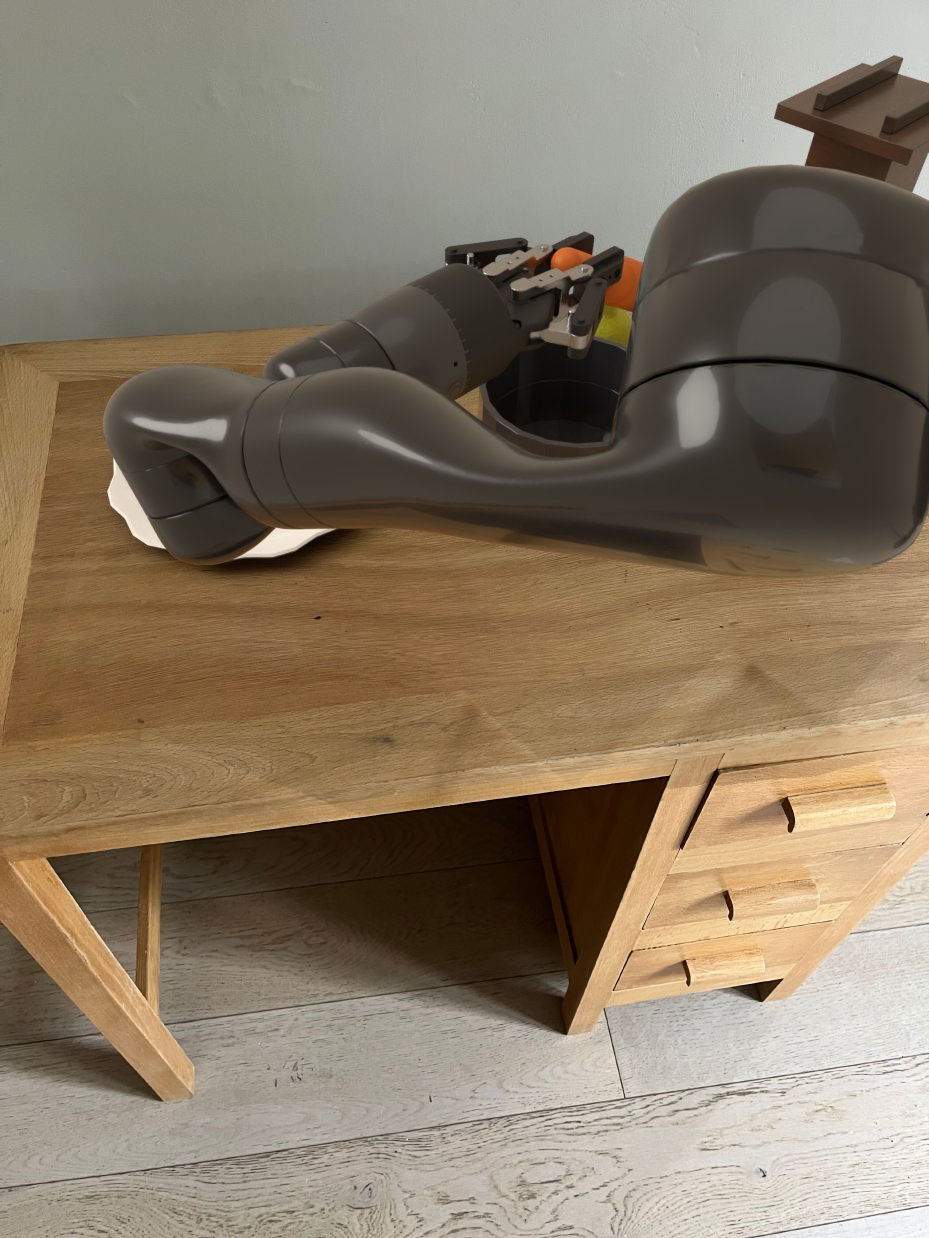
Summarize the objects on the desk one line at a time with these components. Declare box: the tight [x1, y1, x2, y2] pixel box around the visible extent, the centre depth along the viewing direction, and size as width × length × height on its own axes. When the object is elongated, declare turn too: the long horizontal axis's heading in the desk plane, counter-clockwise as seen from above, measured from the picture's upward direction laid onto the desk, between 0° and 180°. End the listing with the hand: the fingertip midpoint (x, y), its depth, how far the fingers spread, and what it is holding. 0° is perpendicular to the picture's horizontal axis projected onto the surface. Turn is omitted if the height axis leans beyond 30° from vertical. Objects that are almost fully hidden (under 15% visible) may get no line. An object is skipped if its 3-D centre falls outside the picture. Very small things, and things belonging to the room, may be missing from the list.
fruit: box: [595, 304, 632, 346], centre depth 89 cm, size 7×7×12 cm
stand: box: [773, 54, 929, 193], centre depth 70 cm, size 11×11×33 cm
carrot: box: [551, 247, 643, 313], centre depth 64 cm, size 4×16×4 cm, turn 133°
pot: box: [477, 336, 627, 457], centre depth 78 cm, size 16×16×10 cm
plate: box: [106, 457, 339, 563], centre depth 81 cm, size 25×25×2 cm
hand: (603, 253), depth 61 cm, fingers closed on carrot, 2 cm apart
